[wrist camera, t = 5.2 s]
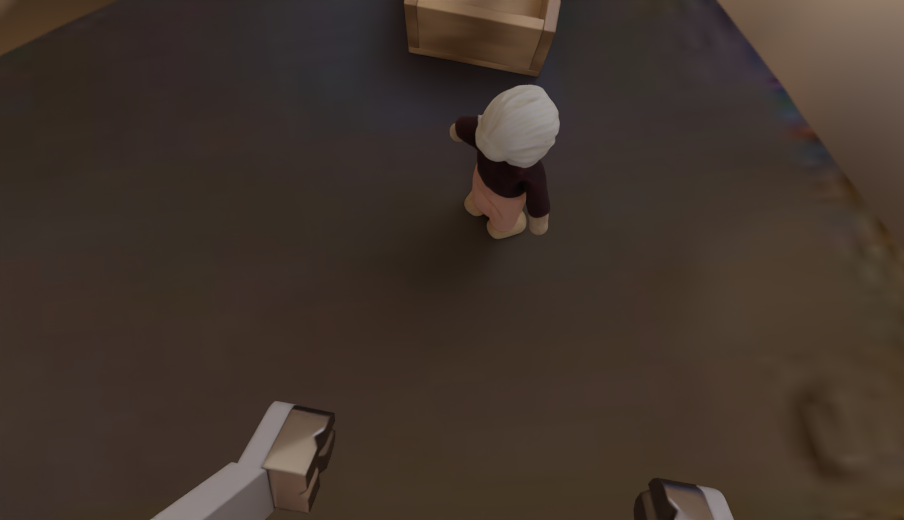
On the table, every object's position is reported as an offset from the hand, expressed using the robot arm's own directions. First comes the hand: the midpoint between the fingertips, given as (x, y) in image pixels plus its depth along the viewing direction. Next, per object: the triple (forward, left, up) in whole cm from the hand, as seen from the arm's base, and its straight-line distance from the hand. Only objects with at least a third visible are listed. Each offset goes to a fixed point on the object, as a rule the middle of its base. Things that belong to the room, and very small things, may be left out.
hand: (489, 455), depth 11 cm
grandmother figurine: (0, +12, -16) cm, 20 cm away
